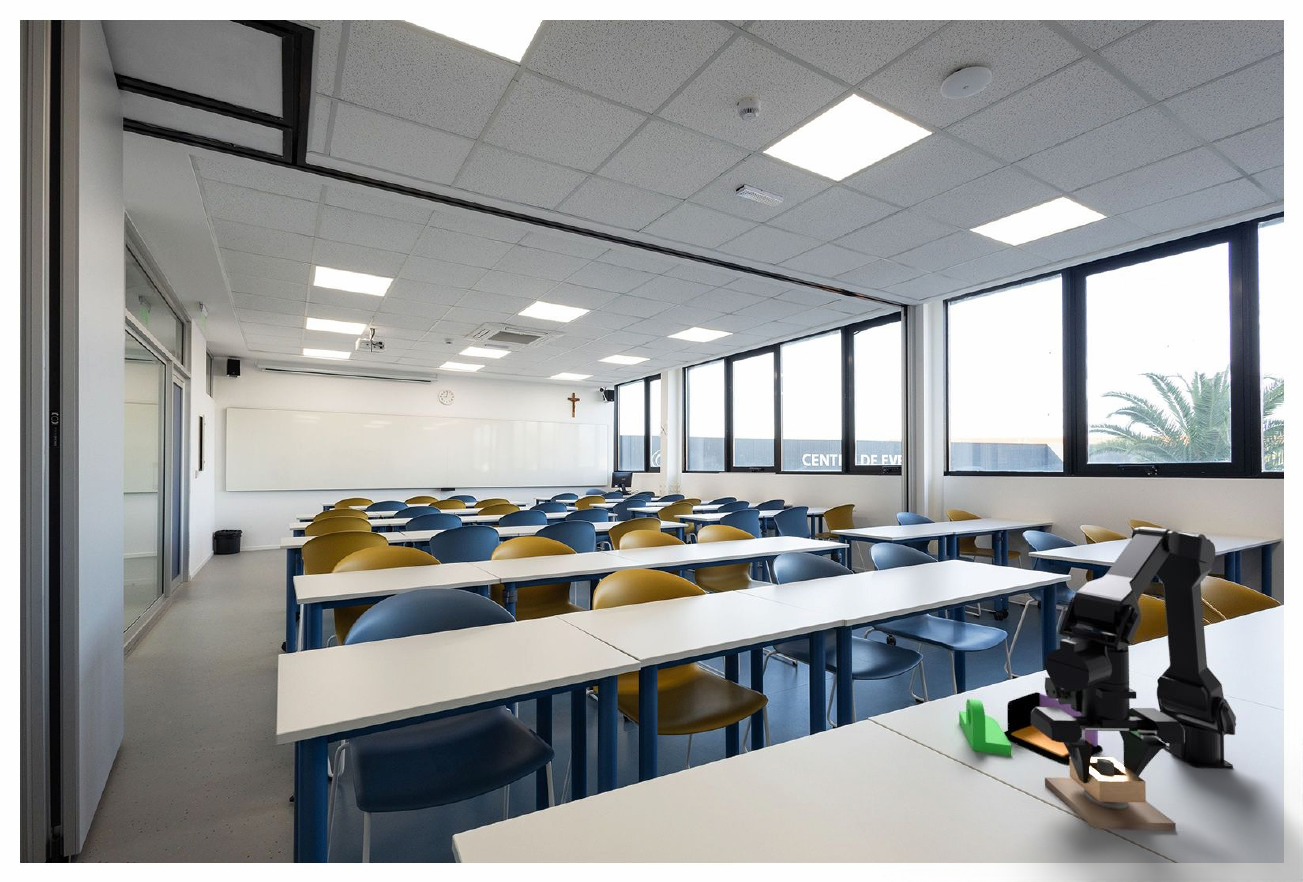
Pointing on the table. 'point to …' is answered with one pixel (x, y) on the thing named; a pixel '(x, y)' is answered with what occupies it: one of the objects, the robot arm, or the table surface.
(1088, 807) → the post stand
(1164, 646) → the table surface
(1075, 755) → the robot arm
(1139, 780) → the wooden collar
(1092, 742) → the toy room diorama
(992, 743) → the mechanical part
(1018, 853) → the table surface
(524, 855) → the table surface
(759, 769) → the table surface
